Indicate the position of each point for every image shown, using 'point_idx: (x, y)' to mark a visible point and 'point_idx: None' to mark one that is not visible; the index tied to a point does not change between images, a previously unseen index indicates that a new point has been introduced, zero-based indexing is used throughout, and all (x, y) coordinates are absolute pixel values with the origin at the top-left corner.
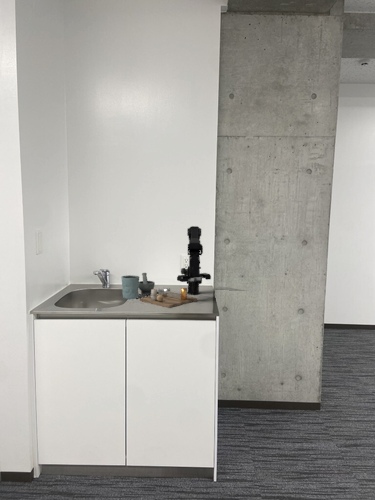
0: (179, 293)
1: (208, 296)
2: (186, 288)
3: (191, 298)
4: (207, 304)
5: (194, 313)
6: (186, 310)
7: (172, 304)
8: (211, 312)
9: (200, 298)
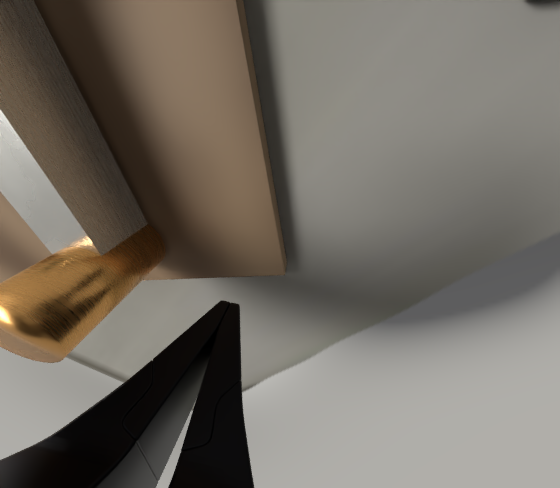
0: (38, 232)
1: (530, 221)
2: (58, 354)
3: (233, 247)
4: (266, 352)
5: (125, 381)
6: (105, 348)
7: None
8: (194, 405)
9: (373, 230)
